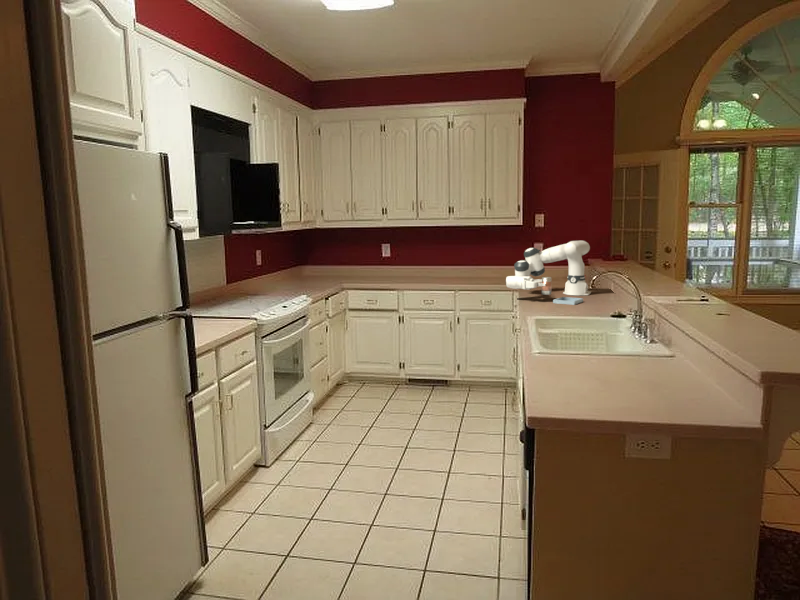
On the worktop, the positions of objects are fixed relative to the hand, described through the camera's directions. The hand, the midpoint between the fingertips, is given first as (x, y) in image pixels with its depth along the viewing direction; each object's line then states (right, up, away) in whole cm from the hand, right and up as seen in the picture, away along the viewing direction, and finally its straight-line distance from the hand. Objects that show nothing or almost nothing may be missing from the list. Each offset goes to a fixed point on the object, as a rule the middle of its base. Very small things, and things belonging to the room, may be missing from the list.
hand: (547, 284), depth 379 cm
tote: (+12, -13, -3) cm, 18 cm away
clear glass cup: (-1, -7, +2) cm, 7 cm away
